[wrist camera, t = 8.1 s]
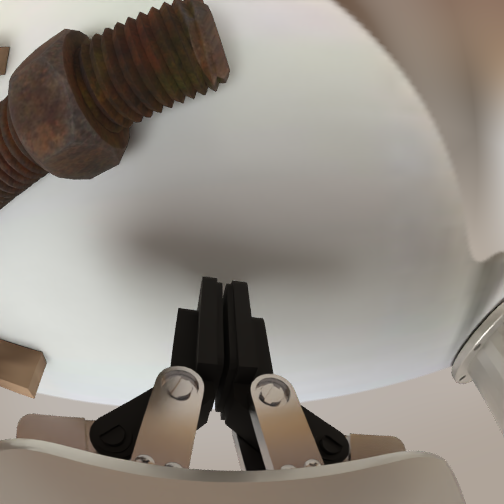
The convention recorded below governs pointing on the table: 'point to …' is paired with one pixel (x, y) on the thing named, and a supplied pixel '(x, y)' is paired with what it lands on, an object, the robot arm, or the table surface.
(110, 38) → the bolt
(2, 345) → the bracket
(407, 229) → the table surface
